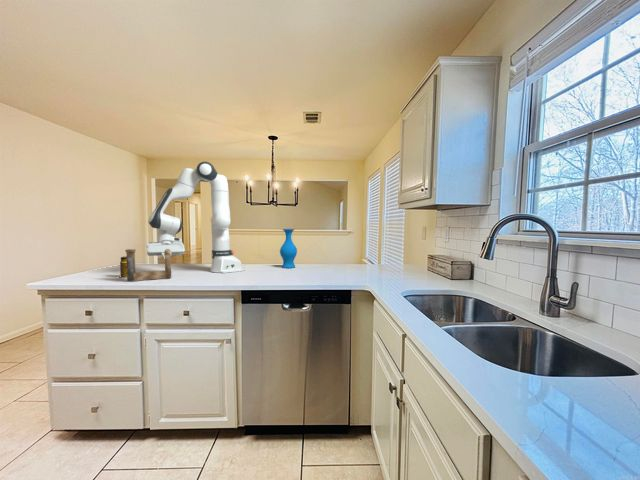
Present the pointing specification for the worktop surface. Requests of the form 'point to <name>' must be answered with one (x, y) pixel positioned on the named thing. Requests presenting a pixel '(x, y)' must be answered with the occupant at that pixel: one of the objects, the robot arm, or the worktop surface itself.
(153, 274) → the gate
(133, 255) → the gate post
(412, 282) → the worktop surface
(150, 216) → the robot arm
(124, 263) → the condiment
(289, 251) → the vase
